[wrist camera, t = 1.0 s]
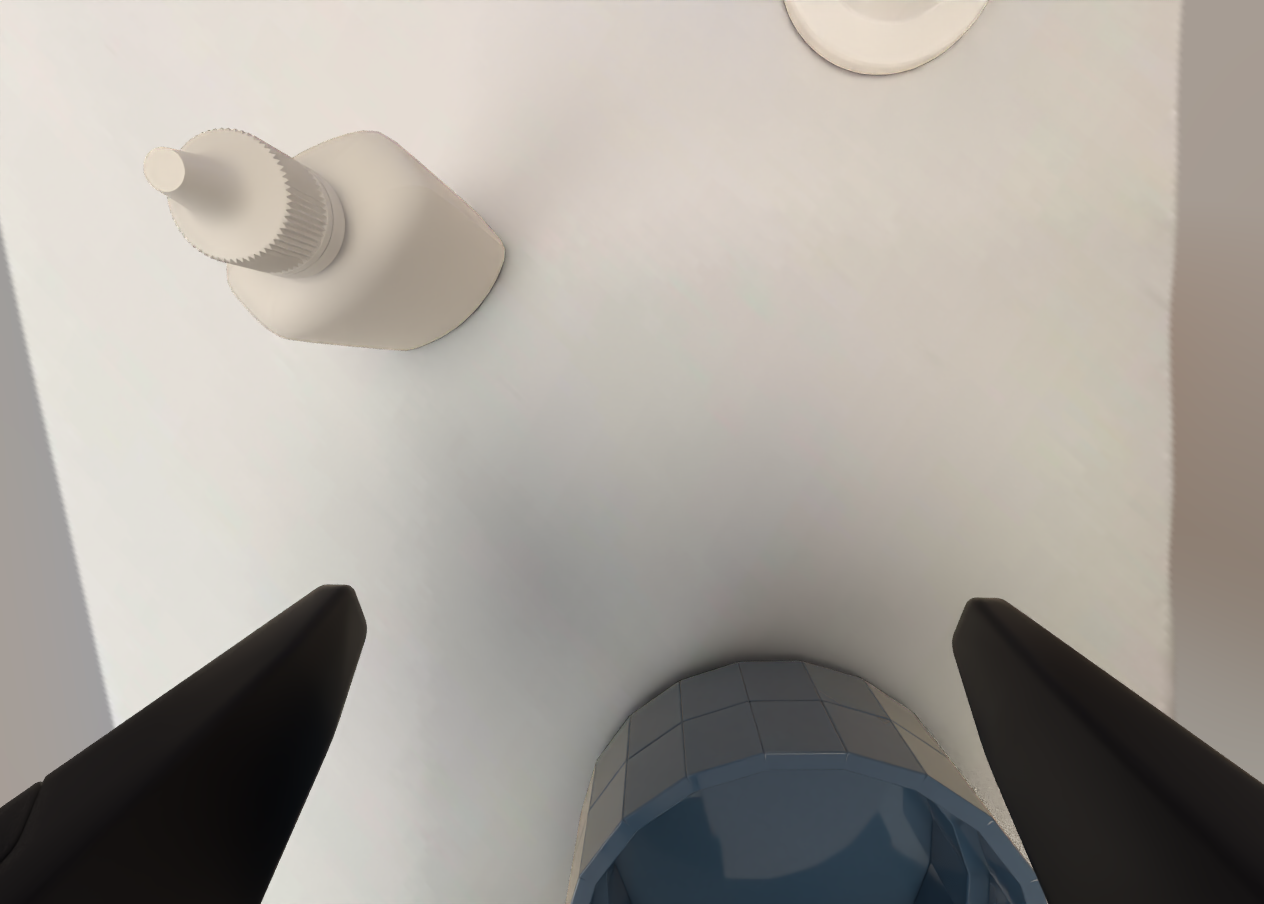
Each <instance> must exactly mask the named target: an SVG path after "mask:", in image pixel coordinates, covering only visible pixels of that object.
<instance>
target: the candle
mask: <svg viewBox="0 0 1264 904" xmlns="http://www.w3.org/2000/svg"><path fill="white" fill-rule="evenodd" d="M988 1H989V0H784V3H785V6H786V9H787V12H788V14H789V16H790V18H791V21H792V22H793V24H794V26H795V28H796V29H797V31H798V32H799V34H800V35H801V36H802V38H803V39H804V40H805V41H806V42H807V44H808V45H809V46H810V47H811V48H812V49H813V50H814V51H816V52H817V53H818V54H819V55H821V56H822V57H823V58H825V59H826V60H828V61H829V62H831V63H833V64H835V65H837V66H839V67H841V68H844V69H847V70H850V71H853V72H857V73H862V74H871V75H886V74H895V73H899V72H904V71H907V70H910V69H914V68H916V67H919V66H921V65H923V64H925V63H927V62H929V61H931V60H933V59H934V58H936V57H938V56H939V55H940V54H942V53H943V52H945V51H946V50H947V49H949V48H950V47H951V46H952V45H953V44H954V43H955V42H957V41H958V40H959V39H960V38H961V37H962V36H963V34H964V33H965V32H966V31H967V30H968V29H969V28H970V27H971V25H972V24H973V23H974V22H975V21H976V19H977V18H978V16H979V15H980V14H981V12H982V11H983V9H984V7H985V6H986V4H987V2H988Z"/></svg>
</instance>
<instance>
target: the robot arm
mask: <svg viewBox="0 0 1264 904" xmlns="http://www.w3.org/2000/svg"><path fill="white" fill-rule="evenodd" d="M366 634H367V624H366V620H365V617H364V615H363V612H362V609H361V606H360V604H359V601H358V598H357V596H356V593H355V591H354V589H353V588H352V587H351V586H349V585H322V586H320V587H318V588H316V589H315V590H313V591H312V592H310V593H309V594H308V595H306V596H305V597H303V598H302V599H300V600H299V601H298V602H296V603H295V604H293V605H292V606H290V607H289V608H287V609H286V610H285V611H283V612H282V613H280V614H279V615H277V616H276V617H275V618H273V619H272V620H270V621H269V622H267V623H266V624H264V625H263V626H262V627H260V628H259V629H257V630H256V631H254V632H253V633H251V634H250V635H249V636H247V637H246V638H244V639H243V640H241V641H240V642H239V643H237V644H236V645H234V646H233V647H231V648H230V649H228V650H227V651H226V652H224V653H223V654H221V655H220V656H218V657H217V658H215V659H214V660H213V661H211V662H210V663H208V664H207V665H205V666H204V667H203V668H201V669H200V670H198V671H197V672H195V673H194V674H192V675H191V676H190V677H188V678H187V679H185V680H184V681H182V682H181V683H180V684H178V685H177V686H175V687H174V688H172V689H171V690H169V691H168V692H167V693H165V694H164V695H162V696H161V697H159V698H158V699H156V700H155V701H154V702H152V703H151V704H149V705H148V706H146V707H145V708H144V709H142V710H141V711H139V712H138V713H136V714H135V715H133V716H132V717H131V718H129V719H128V720H126V721H125V722H123V723H122V724H121V725H119V726H118V727H116V728H115V729H113V730H112V731H110V732H109V733H108V734H106V735H105V736H103V737H102V738H100V739H99V740H98V741H96V742H95V743H93V744H92V745H90V746H89V747H87V748H86V749H84V750H83V751H82V752H80V753H79V754H77V755H76V756H74V757H73V758H72V759H70V760H69V761H67V762H66V763H64V764H63V765H61V766H60V767H59V768H57V769H56V770H54V771H53V772H51V773H50V774H48V775H47V776H46V777H45V779H44V781H43V782H37V783H35V784H34V785H32V786H31V787H30V788H28V789H27V790H25V791H24V792H22V793H21V794H20V795H18V796H17V797H15V798H14V799H12V800H11V801H9V802H8V803H6V804H5V805H4V806H2V807H1V808H0V904H261V902H262V900H263V897H264V895H265V893H266V890H267V888H268V886H269V884H270V881H271V879H272V877H273V874H274V872H275V870H276V868H277V865H278V863H279V861H280V859H281V856H282V854H283V852H284V849H285V847H286V845H287V843H288V840H289V838H290V836H291V833H292V831H293V829H294V827H295V824H296V822H297V820H298V818H299V815H300V813H301V811H302V808H303V806H304V804H305V802H306V799H307V797H308V795H309V792H310V790H311V788H312V786H313V783H314V781H315V779H316V776H317V774H318V772H319V770H320V767H321V765H322V763H323V761H324V758H325V756H326V754H327V751H328V749H329V746H330V744H331V742H332V739H333V737H334V734H335V731H336V728H337V725H338V723H339V720H340V717H341V713H342V710H343V707H344V704H345V701H346V698H347V695H348V692H349V689H350V685H351V682H352V679H353V676H354V673H355V670H356V667H357V664H358V661H359V658H360V654H361V651H362V648H363V645H364V642H365V639H366ZM952 647H953V653H954V656H955V660H956V663H957V666H958V669H959V673H960V676H961V679H962V682H963V685H964V689H965V692H966V695H967V698H968V702H969V705H970V708H971V711H972V715H973V718H974V721H975V724H976V727H977V731H978V734H979V737H980V740H981V743H982V746H983V749H984V752H985V755H986V758H987V760H988V763H989V765H990V768H991V770H992V773H993V775H994V778H995V780H996V782H997V785H998V787H999V789H1000V792H1001V794H1002V797H1003V799H1004V801H1005V804H1006V806H1007V808H1008V811H1009V813H1010V815H1011V818H1012V820H1013V822H1014V825H1015V827H1016V829H1017V832H1018V834H1019V836H1020V839H1021V841H1022V843H1023V846H1024V848H1025V851H1026V853H1027V855H1028V858H1029V860H1030V862H1031V865H1032V867H1033V869H1034V872H1035V874H1036V876H1037V879H1038V881H1039V883H1040V886H1041V888H1042V890H1043V893H1044V895H1045V897H1046V900H1047V902H1048V904H1264V784H1262V783H1261V782H1259V781H1258V780H1257V779H1255V778H1254V777H1252V776H1251V775H1250V774H1248V773H1247V772H1245V771H1244V770H1243V769H1241V768H1240V767H1238V766H1237V765H1236V764H1234V763H1233V762H1231V761H1230V760H1228V759H1227V758H1225V757H1224V756H1223V755H1221V754H1220V753H1219V752H1217V751H1216V750H1214V749H1213V748H1212V747H1210V746H1209V745H1208V744H1206V743H1204V742H1203V741H1202V740H1201V739H1199V738H1198V737H1196V736H1195V735H1193V734H1192V733H1191V732H1189V731H1188V730H1186V729H1185V728H1184V727H1182V726H1181V725H1179V724H1178V723H1177V722H1175V721H1174V720H1172V719H1171V718H1170V717H1168V716H1167V715H1165V714H1164V713H1163V712H1161V711H1160V710H1158V709H1157V708H1156V707H1154V706H1153V705H1151V704H1150V703H1149V702H1147V701H1146V700H1144V699H1143V698H1142V697H1140V696H1139V695H1137V694H1136V693H1135V692H1133V691H1132V690H1130V689H1129V688H1128V687H1126V686H1125V685H1123V684H1122V683H1120V682H1119V681H1118V680H1116V679H1115V678H1113V677H1112V676H1111V675H1109V674H1108V673H1106V672H1105V671H1104V670H1102V669H1101V668H1099V667H1098V666H1097V665H1095V664H1094V663H1092V662H1091V661H1090V660H1088V659H1087V658H1085V657H1084V656H1083V655H1081V654H1080V653H1078V652H1077V651H1076V650H1074V649H1073V648H1071V647H1070V646H1069V645H1067V644H1066V643H1064V642H1063V641H1062V640H1060V639H1059V638H1057V637H1056V636H1054V635H1053V634H1052V633H1050V632H1049V631H1047V630H1046V629H1045V628H1043V627H1042V626H1040V625H1039V624H1038V623H1036V622H1035V621H1033V620H1032V619H1031V618H1029V617H1028V616H1026V615H1025V614H1024V613H1022V612H1021V611H1019V610H1018V609H1017V608H1015V607H1014V606H1012V605H1011V604H1010V603H1008V602H1006V601H1005V600H1003V599H999V598H972V599H970V600H969V601H968V602H967V603H966V605H965V608H964V610H963V613H962V615H961V617H960V620H959V622H958V625H957V627H956V629H955V632H954V635H953V639H952Z"/></svg>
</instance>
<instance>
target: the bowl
mask: <svg viewBox="0 0 1264 904" xmlns="http://www.w3.org/2000/svg"><path fill="white" fill-rule="evenodd" d="M565 904H1047V901H1046V898H1045V895H1044V893H1043V890H1042V888H1041V886H1040V883H1039V881H1038V879H1037V876H1036V874H1035V872H1034V870H1033V868H1032V867H1031V866H1030V864H1029V863H1028V862H1027V860H1026V859H1025V858H1024V856H1023V855H1022V854H1021V852H1020V851H1019V850H1018V848H1017V847H1016V846H1015V844H1014V843H1013V842H1012V841H1011V839H1010V838H1009V837H1008V835H1007V834H1006V833H1005V831H1004V830H1003V829H1002V827H1001V826H1000V825H999V823H998V822H997V821H996V819H995V818H994V817H993V815H992V814H991V813H990V812H989V810H988V809H987V808H986V806H985V805H984V804H983V802H982V801H981V800H980V798H979V797H978V796H977V794H976V793H975V792H974V790H973V789H972V788H971V786H970V785H969V784H968V782H967V781H966V780H965V779H964V777H963V776H962V775H961V773H960V772H959V771H958V769H957V768H956V767H955V765H954V764H953V763H952V761H951V760H950V759H949V757H948V756H947V755H946V754H945V752H944V751H943V750H942V748H941V747H940V746H939V745H938V743H937V742H936V741H935V739H934V738H933V737H932V735H931V734H930V733H929V732H928V730H927V729H926V728H925V726H924V725H923V724H922V723H921V721H920V720H919V719H918V717H917V716H916V715H915V713H913V712H912V711H911V710H909V709H908V708H906V707H905V706H903V705H902V704H900V703H899V702H897V701H896V700H894V699H893V698H891V697H890V696H888V695H887V694H885V693H884V692H882V691H881V690H879V689H878V688H876V687H875V686H873V685H871V684H870V683H868V682H867V681H865V680H863V679H862V678H860V677H856V676H853V675H850V674H846V673H843V672H839V671H836V670H832V669H829V668H825V667H822V666H818V665H815V664H811V663H808V662H804V661H739V662H736V663H733V664H730V665H727V666H724V667H720V668H717V669H714V670H711V671H708V672H705V673H702V674H698V675H695V676H692V677H689V678H686V679H683V680H680V682H677V683H675V684H674V685H672V686H671V687H670V688H668V689H667V690H665V691H664V692H663V693H661V694H660V695H658V696H657V697H655V698H654V699H653V700H651V701H650V702H648V703H647V704H646V705H644V706H643V707H641V708H640V709H638V710H637V711H636V712H634V713H633V714H632V715H631V716H629V717H628V719H627V720H626V721H625V723H624V724H623V726H622V727H621V728H620V730H619V731H618V732H617V734H616V735H615V736H614V738H613V739H612V741H611V742H610V743H609V745H608V746H607V747H606V749H605V750H604V751H603V753H602V754H601V755H600V757H599V758H598V760H597V762H596V764H595V767H594V770H593V774H592V777H591V780H590V784H589V787H588V790H587V794H586V797H585V800H584V803H583V807H582V810H581V815H580V820H579V826H578V832H577V838H576V844H575V850H574V856H573V861H572V868H571V873H570V879H569V885H568V891H567V896H566V902H565Z"/></svg>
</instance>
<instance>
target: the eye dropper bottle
mask: <svg viewBox="0 0 1264 904" xmlns="http://www.w3.org/2000/svg"><path fill="white" fill-rule="evenodd" d="M144 174H145V177H146V179H147V181H148V182H149V184H150V185H151V186H152V187H154V188H155V189H157V190H158V191H160V192H161V193H163V194H165V195H166V196H167V199H168V204H169V208H170V212H171V214H172V217H173V220H174V221H175V224H176V226H178V229H179V231H180V232H182V234H183V237H184V238H186V239H187V241H188V242H189V243H191V244H192V245H193V247H194V248H197V249H198V251H199V252H202V253H204V255H206V256H210V258H212V259H216V260H217V261H221V262H225V263H227V282H228V284H229V286H230V288H231V290H232V292H233V293H234V295H235V296H236V297H237V298H238V300H239V301H240V302H241V303H242V304H243V305H244V307H245V308H246V309H247V310H248V311H249V312H250V313H251V314H252V315H253V316H254V317H255V318H256V319H257V320H258V321H259V322H260V323H261V324H262V325H263V326H264V327H265V328H266V329H267V330H269V331H271V332H272V333H274V334H276V335H278V336H279V337H282V338H285V339H288V340H295V341H303V342H311V343H320V344H331V345H341V346H352V347H363V348H375V349H386V350H401V351H408V350H412V349H415V348H418V347H421V346H424V345H426V344H428V343H431V342H433V341H435V340H437V339H439V338H441V337H442V336H444V335H446V334H447V333H449V332H451V331H452V330H453V329H455V328H456V327H458V326H459V325H460V324H461V323H463V322H464V321H465V320H466V319H467V318H468V317H469V316H470V315H471V314H472V313H473V312H474V311H475V310H476V309H477V308H478V306H479V305H480V304H481V303H482V301H483V300H484V299H485V297H486V296H487V294H488V293H489V291H490V290H491V288H492V286H493V285H494V283H495V281H496V279H497V277H498V275H499V272H500V270H501V268H502V265H503V262H504V259H505V248H504V246H503V243H502V241H501V240H500V239H499V237H498V236H497V235H496V234H495V232H494V231H493V230H492V229H491V228H490V227H489V226H488V225H487V223H486V222H485V221H484V220H483V219H482V218H481V217H480V216H479V215H478V213H477V212H476V211H475V210H474V209H472V208H471V207H470V206H469V205H468V204H467V203H466V202H465V201H464V200H462V199H461V198H460V197H459V196H458V195H457V194H456V193H455V192H453V191H452V190H451V189H450V188H449V187H448V186H447V185H446V184H444V183H443V182H442V181H441V180H440V179H439V178H438V177H436V176H435V175H434V174H433V173H432V172H431V171H430V170H428V169H427V168H426V167H425V166H424V165H423V164H422V163H420V162H419V161H418V160H417V159H416V158H415V157H414V156H412V155H411V154H410V153H409V152H408V151H406V150H405V149H404V148H403V147H401V146H400V145H399V144H398V143H397V142H395V141H394V140H392V139H390V138H389V137H387V136H385V135H384V134H382V133H380V132H377V131H359V132H354V133H349V134H345V135H342V136H339V137H336V138H333V139H330V140H327V141H325V142H322V143H320V144H318V145H316V146H313V147H311V148H309V149H307V150H305V151H303V152H302V153H300V154H298V155H296V156H295V157H293V158H291V157H290V156H288V155H286V154H284V153H283V152H281V151H279V150H278V149H276V148H274V147H273V146H271V145H269V144H268V143H266V142H264V141H262V140H261V139H259V138H257V137H256V136H253V135H251V134H249V133H245V132H244V131H238V130H236V129H233V130H231V129H230V128H227V129H223V128H221V129H218V130H217V129H214V130H212V131H210V130H208V131H206V132H205V133H204V132H202V133H201V134H199V135H196V136H195V137H194V138H191V139H190V140H189V141H188V142H187V143H186V144H185V145H184V146H183V147H182V148H181V149H180V150H176V149H171V148H166V147H158V148H155V149H153V150H151V151H150V152H149V153H148V154H147V156H146V158H145V161H144Z"/></svg>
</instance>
